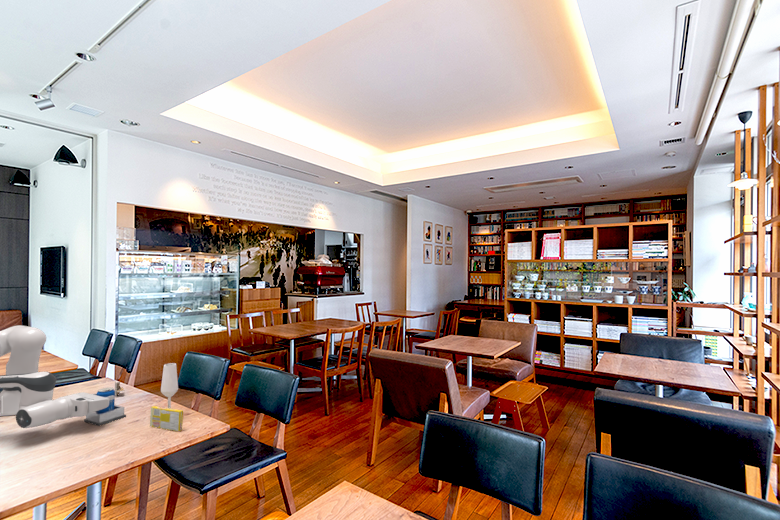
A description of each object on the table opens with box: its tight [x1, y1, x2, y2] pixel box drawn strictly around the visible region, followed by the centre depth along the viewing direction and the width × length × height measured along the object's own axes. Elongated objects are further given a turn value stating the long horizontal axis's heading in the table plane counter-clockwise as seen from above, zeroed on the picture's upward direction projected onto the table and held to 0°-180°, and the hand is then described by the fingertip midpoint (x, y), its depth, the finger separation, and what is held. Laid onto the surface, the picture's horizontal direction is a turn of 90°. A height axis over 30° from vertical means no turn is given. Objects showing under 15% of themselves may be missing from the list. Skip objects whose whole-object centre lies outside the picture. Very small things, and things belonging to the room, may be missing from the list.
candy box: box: [149, 405, 184, 432], centre depth 160 cm, size 16×2×8 cm, turn 71°
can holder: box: [83, 404, 127, 427], centre depth 169 cm, size 11×11×4 cm
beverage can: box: [96, 387, 116, 413], centre depth 169 cm, size 6×6×12 cm
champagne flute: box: [160, 362, 179, 409], centre depth 170 cm, size 7×7×24 cm
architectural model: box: [114, 381, 125, 397], centre depth 201 cm, size 3×7×7 cm, turn 41°
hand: (107, 395), depth 170 cm, fingers closed on beverage can, 6 cm apart
